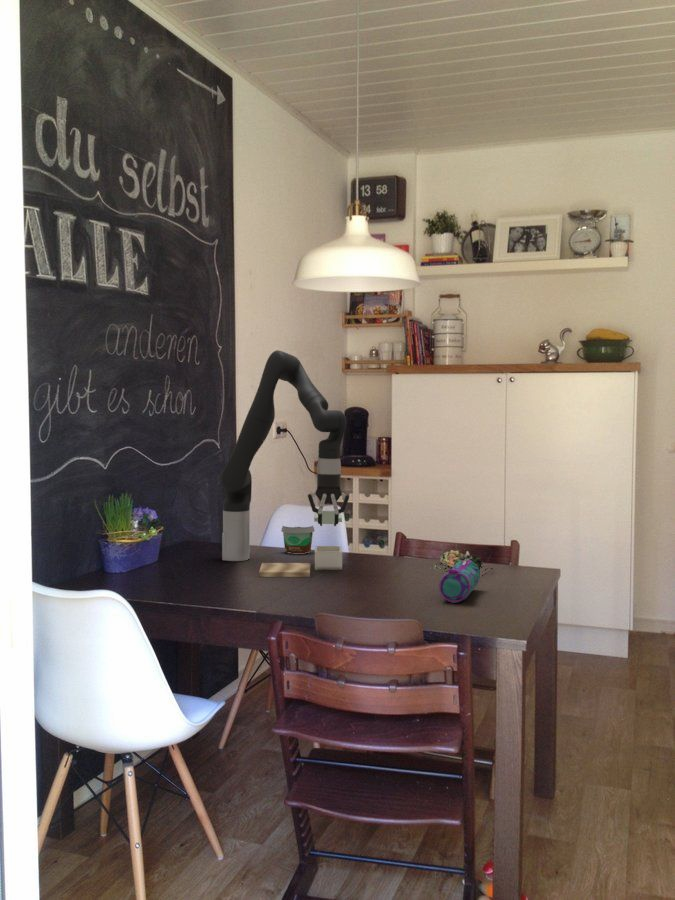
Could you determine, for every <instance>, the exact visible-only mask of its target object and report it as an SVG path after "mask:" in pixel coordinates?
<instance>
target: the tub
mask: <svg viewBox="0 0 675 900" xmlns="http://www.w3.org/2000/svg"><path fill="white" fill-rule="evenodd" d="M342 548H343V547H342V545H314V570H315V571H320V570H321V571H323V570H324V571H326V570H327V571H329V570H330V571H342V570H343V549H342Z"/></svg>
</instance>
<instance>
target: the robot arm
mask: <svg viewBox="0 0 675 900" xmlns="http://www.w3.org/2000/svg"><path fill="white" fill-rule="evenodd" d="M279 380H281V381H282V382H283V381H284V382H287V383H288V384H290V385H291V386H293V387H294V388H295V390H297V396H298V400H299V402H300V403H301V405H302V406H303V407H304V409H305V410H306V411H307V412H308V414H309V417H310V420H311V422H312V424H313V427H314V429H316V430H317V431H318V432H320V433H329V434H328V437H327V438H326V439H321V440H320V441H319V443H318V461H317V469H316V471H317V472H316V474H317V476H316V477H317V478H316V486H317V487H316V490H315V492H312V493H308V495H307V499H308V501H309V503H310V504H309V505H310V507H311V510H312V512H313V513H315V512H316V513H317V514H318V522H317V524H318V525H319V526H321V527H323V524H322V511H324V510H323V509H324V505H327V504H329V505H332V507H333V511H335V521H334V524H333V527H337V525H338V524H339V522H338V518H339V514H340V513H341V514H343V513H344V512H345V509H346V508H347V505H348V501H349V499H350V495H349V494H347V493H344V492H342V490H341V485H342V484H341V481H342V480H341V479H342V477H341V476H342V473H341V472H342V462H341V446H342V442H343V439H344V435H345V432H346V427H347V418H346V415H345V413H344V412H343V411H342V410H334V409H333V410H332V409H331V410H330V409H329V402H328V401H327V399H326V398H325V396H324V395H323V394H322V393H321V392H320V391H319V390H318V388H317V387H316V386H315V384H313V382H312V380H311V378H310V377H309V375H308V373H307V372H306V370H305V368H304V366H303V365H302V363H301V360H299V358H298V357H297V356H295V355H292V354H290V353H288V352H285V351H282V350H279V349H277V350H274V351H273V352H272V353H270V355H269V356H268V358H267V360H266V363H265V365H264V368H263V372H262V374H261V378H260V382H259V385H258V387H257V390H256V393H255V395H254V398H253V399H252V400H253V401H252V404H251V406H250V408H249V409H248V412H247V415H246V416H245V419H244V422H243V424H242V426H241V429H240V433H239V435H238V437H237V441H236V444H235V446H234V448H233V451H232V454H231V455H230V457H229V459H228V460H227V463H226V464H225V466H224V468H223V470H222V471H221V474H220V475H221V476H220V482H221V486H222V487H223V488H224V490H225V497H224V501H223V504H222V534H221V538H222V539H221V541H222V542H221V543H222V544H221V547H222V548H221V549H222V550H221V558H222V559H221V560H222V561H227V562H243V561H244V562H245V561H248V559H249V560H250V559H251V558H250V554H251V553H250V551H251V550H250V546H251V545H250V536H251V535H250V534H251V532H250V531H251V530H250V526H251V525H250V522H251V519H250V518H251V517H250V516H251V515H250V511H251V509H250V506H251V501H252V485H253V483H252V482H253V480H252V477H253V476H252V474H251V471H250V466H251V464H252V462H253V459H254V457H255V455H256V454H257V453H258V451H259V450H260V448H261V447H262V445H263V444H264V442H265V441H266V439H267V437H268V435H269V433H270V431H271V429H272V426H273V424H274V421H275V419H276V418H275V415H276V412H275V411H276V410H275V402H274V401H275V399H274V398H275V397H274V395H275V389H276V387H277V384H278V381H279ZM328 409H329V410H328ZM316 497H317V499H318V501H320V503H319V506H318V508H317V507H316V504H315V501H314V500H315V499H316ZM341 497H342V498H341ZM340 498H341V499H342V501H343V502H342V504H341V507H340V508H338V503H337V502H338V501H339V499H340Z"/></svg>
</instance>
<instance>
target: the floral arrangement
mask: <svg viewBox="0 0 675 900" xmlns="http://www.w3.org/2000/svg"><path fill="white" fill-rule="evenodd" d="M465 559H467V560H470V561H473V562H474V563H475V564H476V565H477V566H478V567H479V569H480V567H482V566H481V565H483V560H481V557H477V556H473V555H472V554H470V552H469V550H467V551H466V553H465V554H463V553H461V551H460V549H458V543H455V550H453V549H452V550H450V551H446V552H445V548H443V549H442V555H441V556H440V559H439V562H440V561H441V562H443V563H445V564H447V565H448V566H450V567H451V566H452V567H454V565H455V564H456V563H457V562H459V561H462V560H465ZM437 564H438V563H435V564H434V565H435V566H431V567H432V568H434V569H435V570H436V569H440V570H441V569H444V570H445V568H446V569H448V567H447V566H444V567H442V568H440V567H438V568H437V567H436V565H437ZM448 571H449V570H448ZM448 571H444V572H448Z"/></svg>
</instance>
